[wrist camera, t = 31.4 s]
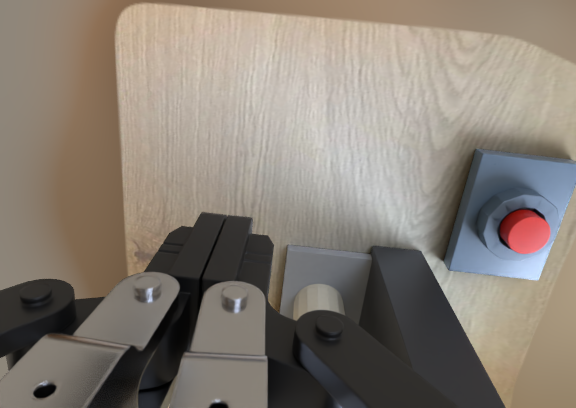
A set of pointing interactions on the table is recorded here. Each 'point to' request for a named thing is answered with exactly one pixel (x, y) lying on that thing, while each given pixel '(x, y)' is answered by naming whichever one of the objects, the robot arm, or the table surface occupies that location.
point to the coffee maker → (397, 314)
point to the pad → (507, 211)
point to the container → (317, 300)
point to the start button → (525, 231)
